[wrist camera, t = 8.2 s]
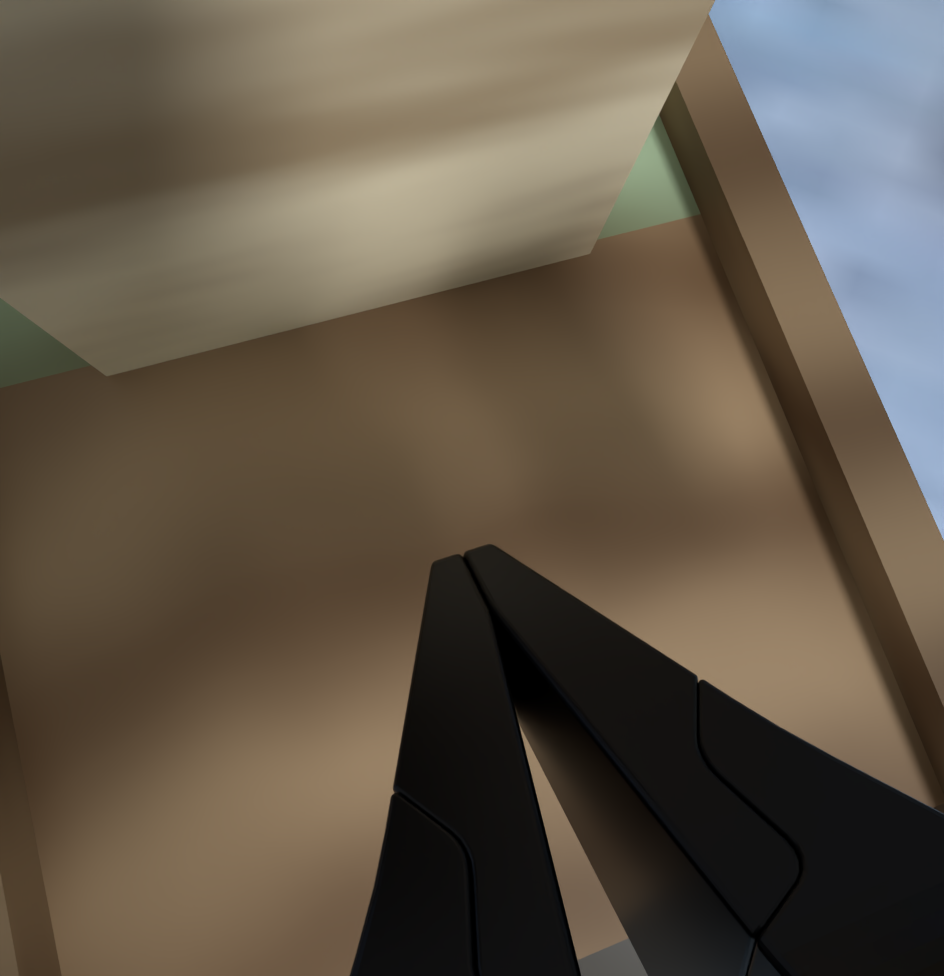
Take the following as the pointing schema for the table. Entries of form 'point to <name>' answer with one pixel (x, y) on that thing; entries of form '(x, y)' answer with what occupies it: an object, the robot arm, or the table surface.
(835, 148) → the table surface
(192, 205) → the birch block
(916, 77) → the table surface
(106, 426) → the trap lane
